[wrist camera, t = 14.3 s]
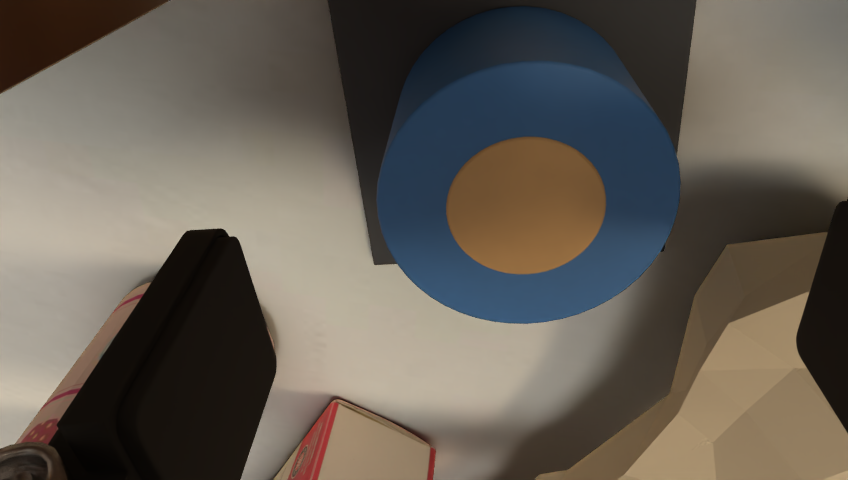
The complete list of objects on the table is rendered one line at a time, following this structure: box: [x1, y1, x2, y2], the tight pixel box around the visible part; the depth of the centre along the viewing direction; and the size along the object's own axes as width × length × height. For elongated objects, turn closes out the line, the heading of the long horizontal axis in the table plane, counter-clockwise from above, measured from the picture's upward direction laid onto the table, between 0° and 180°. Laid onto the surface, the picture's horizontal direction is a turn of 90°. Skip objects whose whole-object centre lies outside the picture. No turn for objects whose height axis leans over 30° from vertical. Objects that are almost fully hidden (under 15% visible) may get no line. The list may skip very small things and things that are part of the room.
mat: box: [328, 0, 696, 265], centre depth 17 cm, size 9×9×1 cm
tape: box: [376, 6, 681, 324], centre depth 15 cm, size 6×6×5 cm
